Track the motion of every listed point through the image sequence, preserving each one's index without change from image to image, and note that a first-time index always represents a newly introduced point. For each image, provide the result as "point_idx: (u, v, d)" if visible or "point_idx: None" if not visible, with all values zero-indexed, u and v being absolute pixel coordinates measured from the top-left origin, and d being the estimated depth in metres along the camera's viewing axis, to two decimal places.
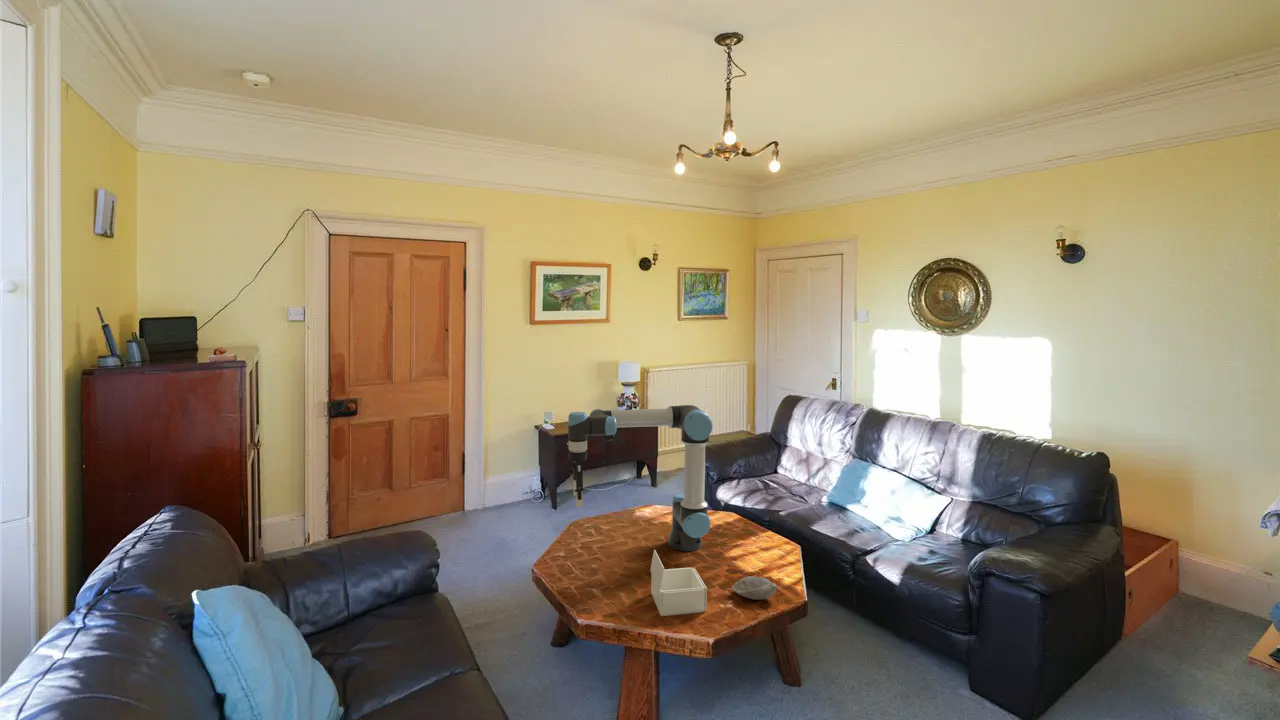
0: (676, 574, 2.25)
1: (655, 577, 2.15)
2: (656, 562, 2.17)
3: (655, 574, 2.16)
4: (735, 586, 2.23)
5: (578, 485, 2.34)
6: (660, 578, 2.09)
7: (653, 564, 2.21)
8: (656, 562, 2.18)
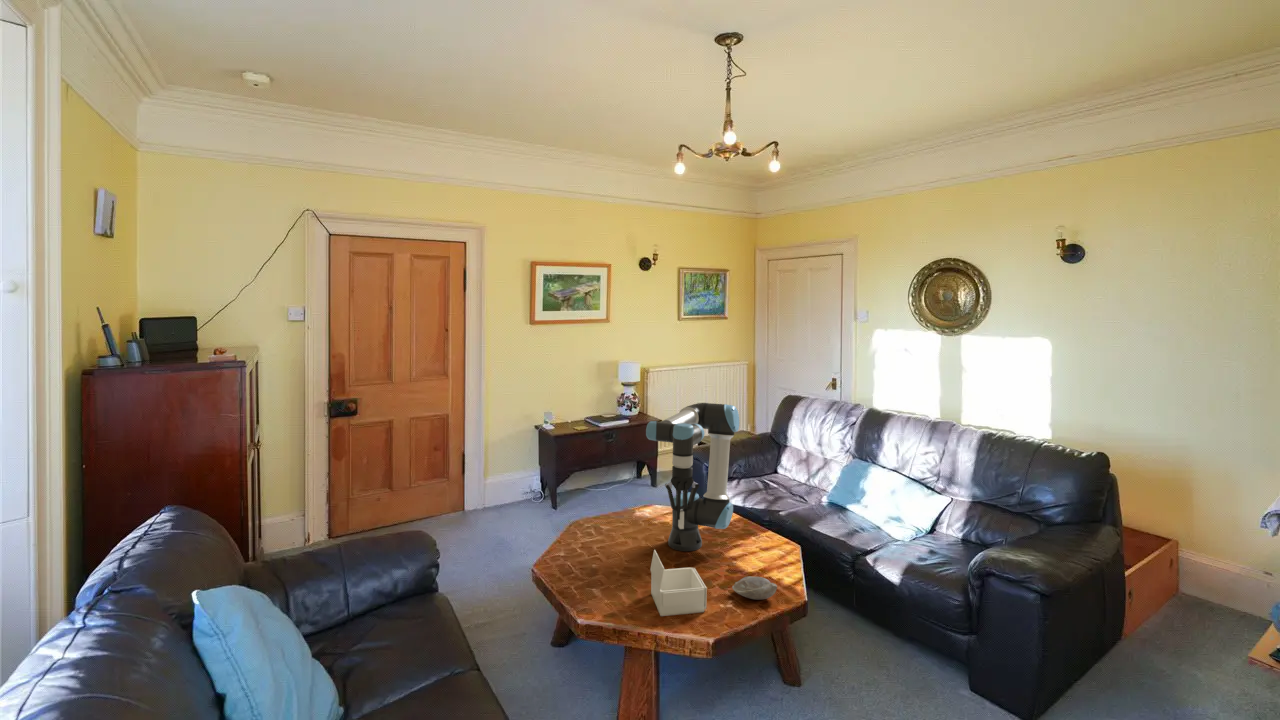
0: (676, 574, 2.25)
1: (655, 577, 2.15)
2: (656, 562, 2.17)
3: (655, 574, 2.16)
4: (735, 586, 2.23)
5: (670, 503, 2.22)
6: (660, 578, 2.09)
7: (653, 564, 2.21)
8: (656, 562, 2.18)
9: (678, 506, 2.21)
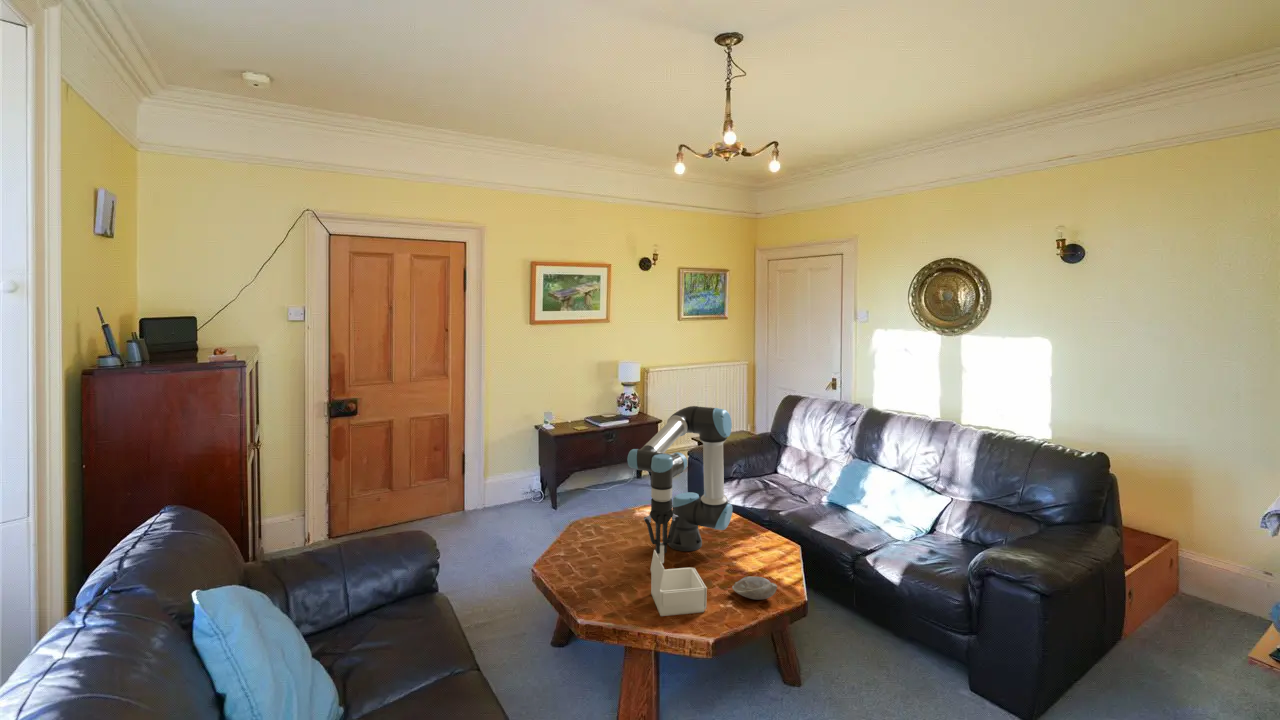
0: (676, 574, 2.25)
1: (655, 577, 2.15)
2: (656, 562, 2.17)
3: (655, 574, 2.16)
4: (735, 586, 2.23)
5: (650, 537, 2.14)
6: (660, 578, 2.09)
7: (653, 564, 2.21)
8: (656, 562, 2.18)
9: (658, 540, 2.13)
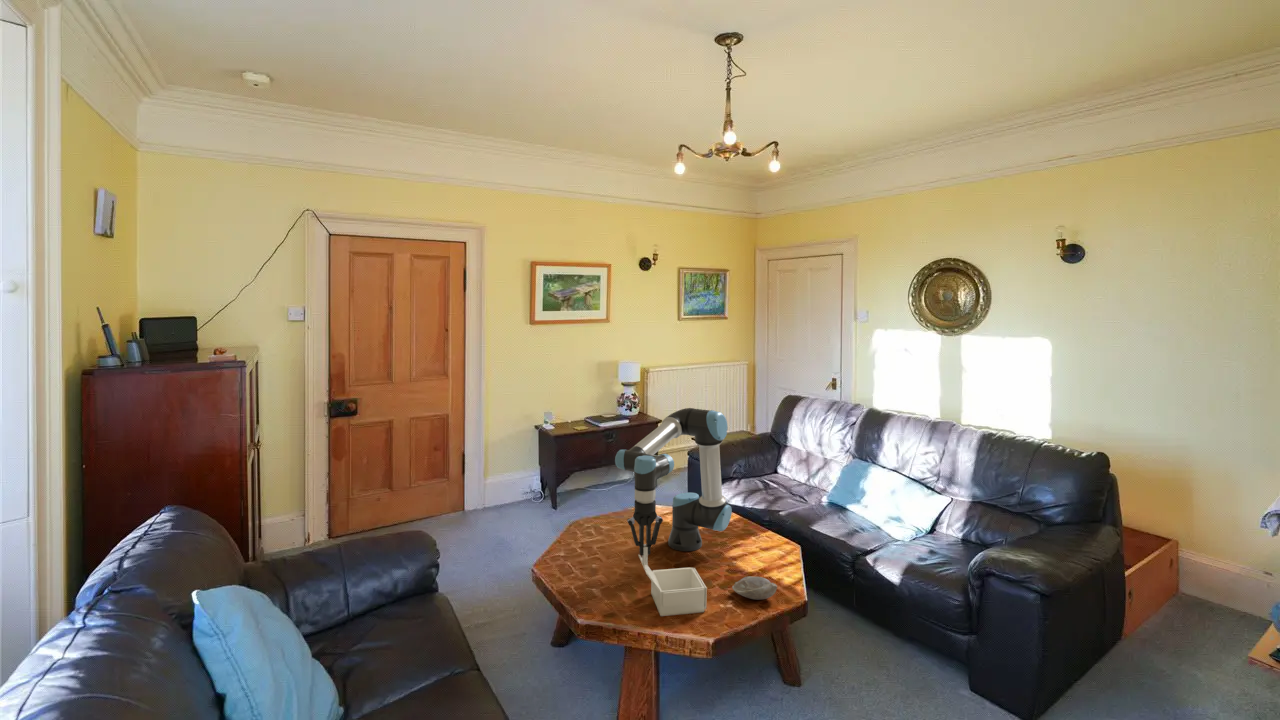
0: (676, 574, 2.25)
1: (652, 578, 2.15)
2: (644, 566, 2.17)
3: (651, 576, 2.16)
4: (735, 586, 2.23)
5: (633, 538, 2.13)
6: (652, 581, 2.09)
7: (646, 567, 2.20)
8: (644, 565, 2.17)
9: (641, 542, 2.12)
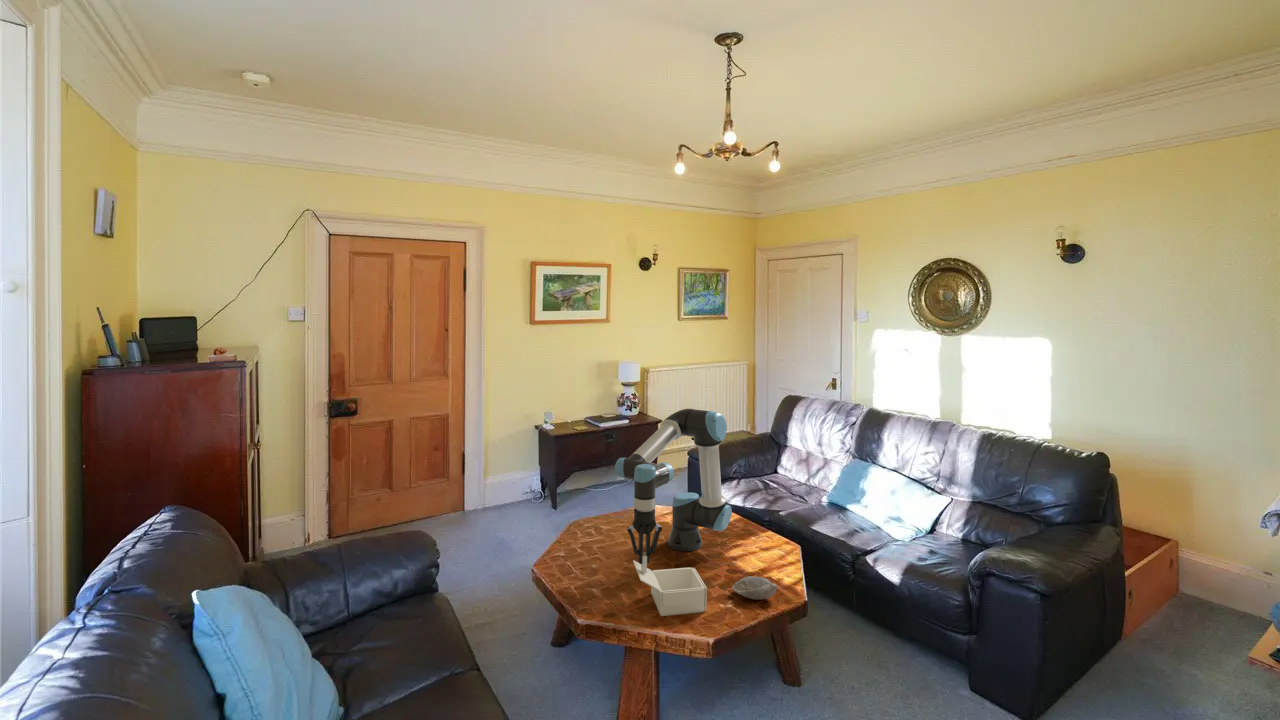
0: (676, 574, 2.25)
1: None
2: None
3: None
4: (735, 586, 2.23)
5: None
6: None
7: None
8: None
9: (640, 550, 2.12)
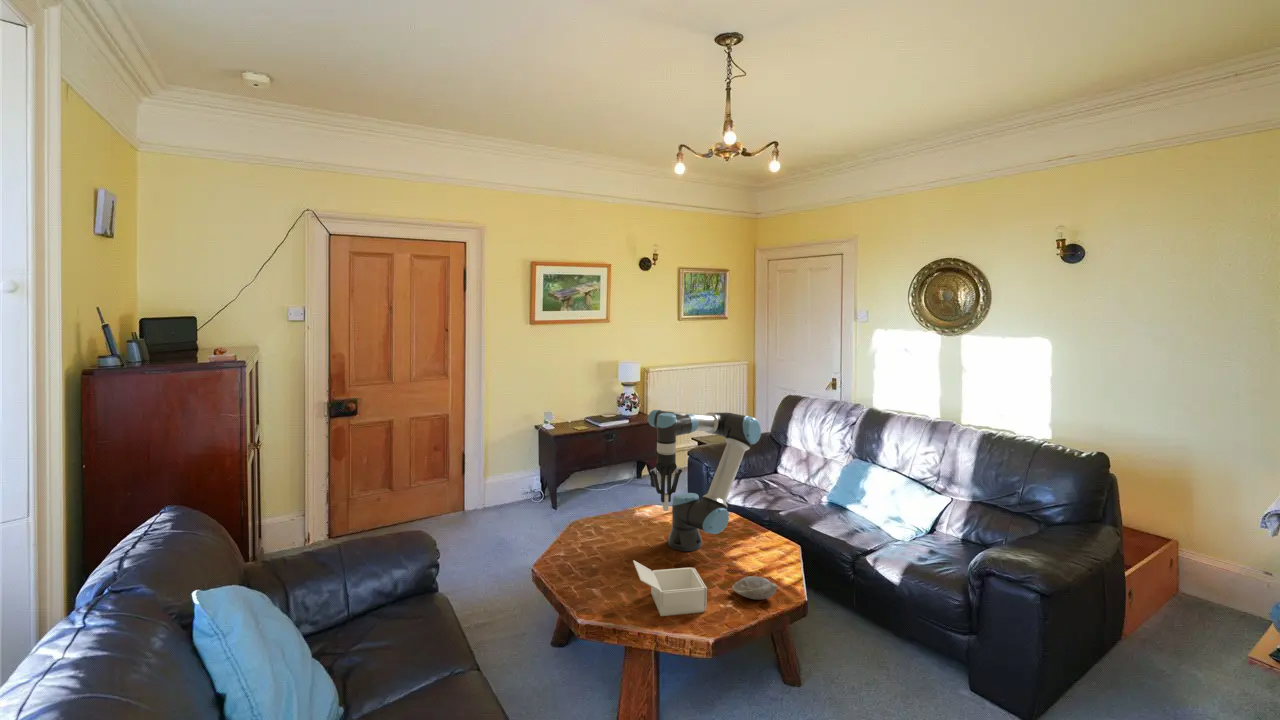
0: (676, 574, 2.25)
1: None
2: None
3: None
4: (735, 586, 2.23)
5: (655, 487, 2.38)
6: None
7: None
8: None
9: (663, 490, 2.37)
